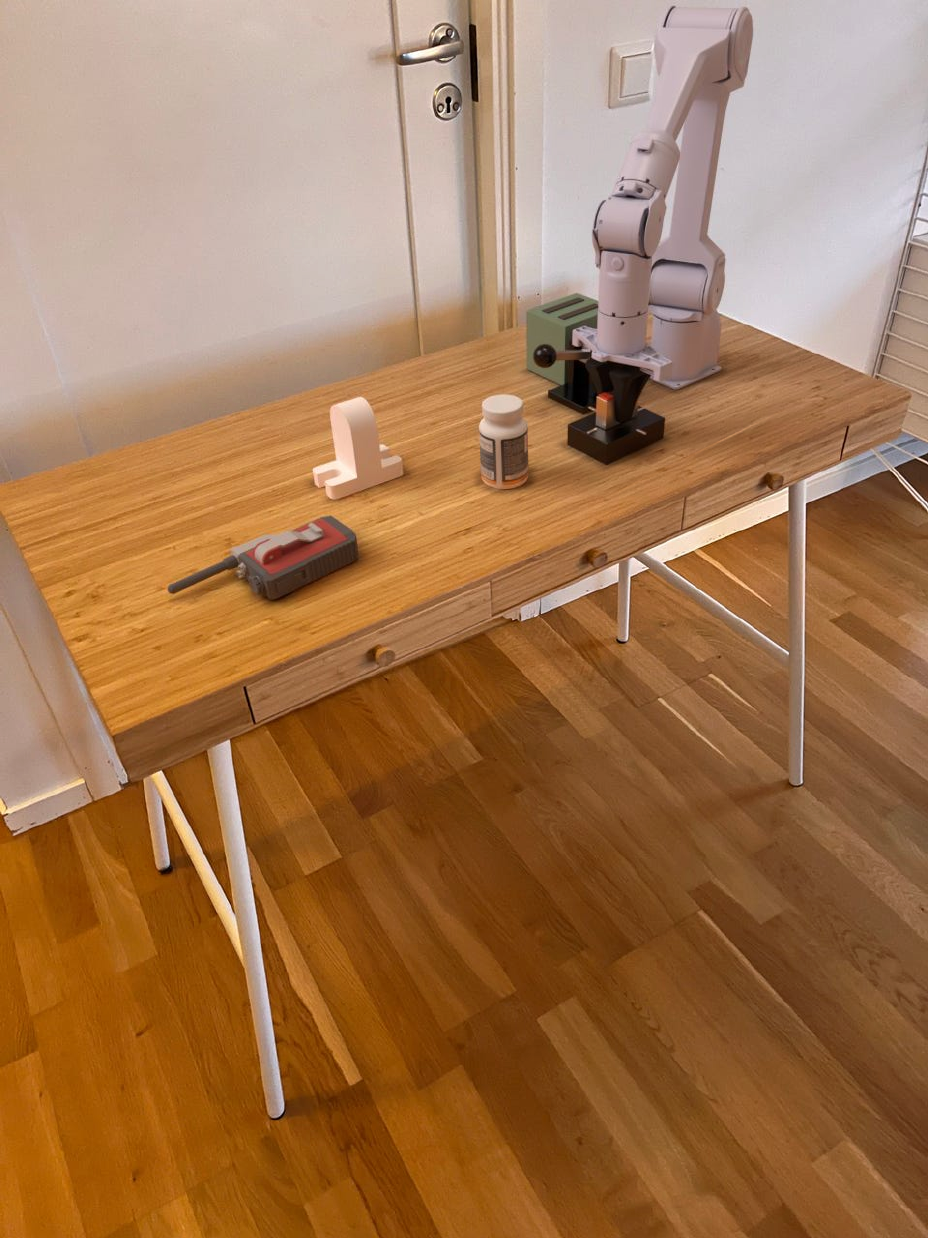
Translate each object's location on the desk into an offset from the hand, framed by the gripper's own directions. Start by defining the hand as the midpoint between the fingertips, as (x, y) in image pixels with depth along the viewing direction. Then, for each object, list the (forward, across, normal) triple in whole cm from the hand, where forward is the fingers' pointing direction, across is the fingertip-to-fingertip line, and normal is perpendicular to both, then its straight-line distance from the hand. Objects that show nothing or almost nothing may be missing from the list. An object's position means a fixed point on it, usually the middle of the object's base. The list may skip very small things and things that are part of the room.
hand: (616, 416), depth 118 cm
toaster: (+4, -20, +10) cm, 22 cm away
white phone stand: (+4, -14, -29) cm, 33 cm away
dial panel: (+4, 0, 0) cm, 4 cm away
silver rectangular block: (+1, 0, 0) cm, 1 cm away
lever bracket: (+4, -12, +7) cm, 14 cm away
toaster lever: (-2, -12, +2) cm, 12 cm away
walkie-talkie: (+4, -4, -47) cm, 47 cm away
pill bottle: (+4, -2, -16) cm, 17 cm away
